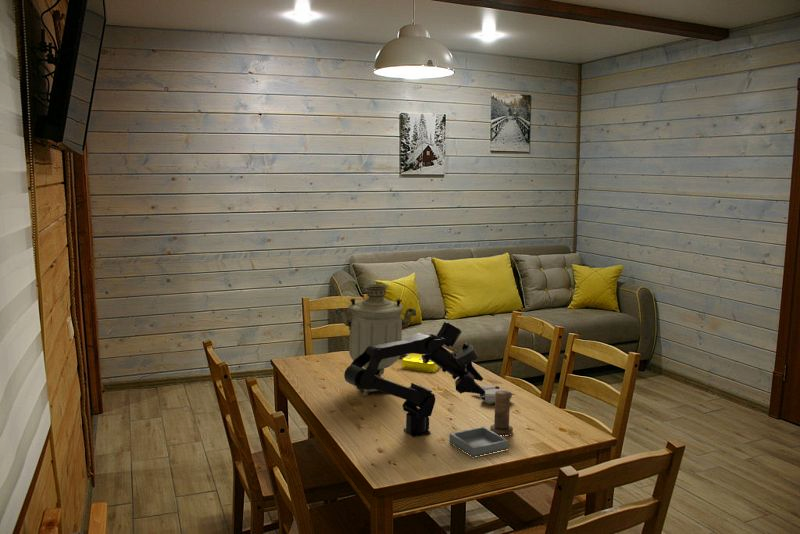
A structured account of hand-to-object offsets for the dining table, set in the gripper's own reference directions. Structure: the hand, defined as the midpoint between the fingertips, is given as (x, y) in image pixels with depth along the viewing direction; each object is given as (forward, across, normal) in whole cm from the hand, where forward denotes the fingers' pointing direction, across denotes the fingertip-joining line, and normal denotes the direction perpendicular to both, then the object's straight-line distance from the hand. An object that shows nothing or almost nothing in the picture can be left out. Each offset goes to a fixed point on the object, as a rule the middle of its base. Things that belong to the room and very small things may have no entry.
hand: (483, 386), depth 215 cm
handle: (+12, -7, +7) cm, 15 cm away
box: (+4, -18, +10) cm, 21 cm away
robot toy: (+15, +24, +11) cm, 31 cm away
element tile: (-1, +64, +32) cm, 72 cm away
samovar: (-19, +34, +38) cm, 54 cm away
